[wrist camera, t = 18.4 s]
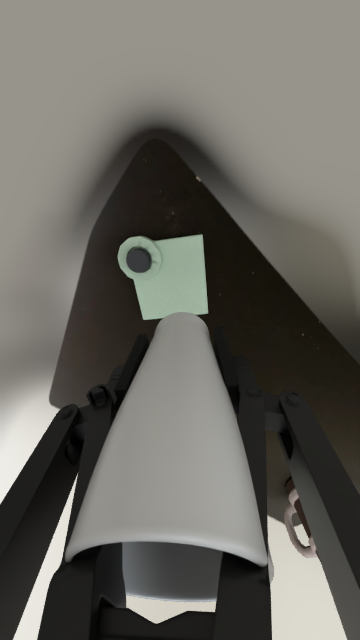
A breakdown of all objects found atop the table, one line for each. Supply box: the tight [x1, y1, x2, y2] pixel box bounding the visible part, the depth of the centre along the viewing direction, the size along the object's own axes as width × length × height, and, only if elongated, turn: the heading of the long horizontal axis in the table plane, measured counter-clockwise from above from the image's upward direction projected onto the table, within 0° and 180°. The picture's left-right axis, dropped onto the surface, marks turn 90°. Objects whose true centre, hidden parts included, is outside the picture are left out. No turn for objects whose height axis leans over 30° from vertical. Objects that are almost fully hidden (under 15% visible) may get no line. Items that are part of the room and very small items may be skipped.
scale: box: [118, 234, 208, 320], centre depth 29 cm, size 13×12×3 cm
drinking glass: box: [65, 312, 274, 602], centre depth 13 cm, size 7×7×15 cm
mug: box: [284, 478, 321, 562], centre depth 51 cm, size 20×15×15 cm
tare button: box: [126, 248, 150, 273], centre depth 26 cm, size 3×3×2 cm
